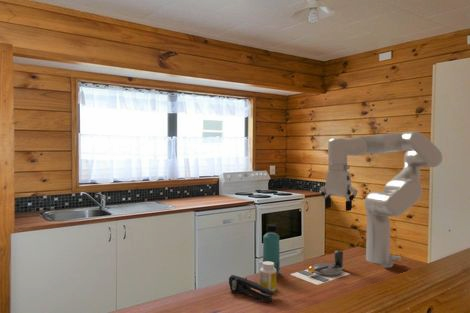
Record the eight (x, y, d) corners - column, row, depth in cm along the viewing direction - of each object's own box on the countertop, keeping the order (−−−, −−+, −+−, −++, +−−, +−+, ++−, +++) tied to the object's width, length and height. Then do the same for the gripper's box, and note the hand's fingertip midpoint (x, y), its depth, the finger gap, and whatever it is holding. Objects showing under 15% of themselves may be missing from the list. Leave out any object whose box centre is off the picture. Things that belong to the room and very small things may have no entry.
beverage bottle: (278, 280, 129) (279, 227, 129) (261, 279, 131) (262, 225, 131) (280, 274, 136) (281, 223, 136) (263, 273, 137) (264, 222, 137)
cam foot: (330, 263, 145) (330, 247, 145) (352, 271, 136) (353, 254, 136) (298, 272, 134) (298, 254, 134) (320, 280, 125) (321, 262, 125)
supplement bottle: (275, 290, 120) (275, 260, 120) (276, 296, 115) (277, 265, 115) (259, 289, 120) (259, 260, 120) (260, 296, 115) (260, 265, 115)
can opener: (223, 291, 119) (224, 275, 119) (236, 286, 124) (237, 270, 124) (266, 307, 107) (266, 289, 107) (278, 300, 112) (279, 283, 112)
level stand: (323, 268, 144) (323, 263, 144) (350, 277, 134) (350, 272, 134) (289, 278, 132) (289, 273, 132) (316, 289, 122) (317, 283, 122)
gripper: (361, 168, 141) (362, 210, 141) (325, 167, 154) (325, 205, 154) (351, 169, 136) (352, 212, 136) (315, 167, 149) (315, 207, 150)
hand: (338, 209), depth 145 cm, fingers open, 9 cm apart
